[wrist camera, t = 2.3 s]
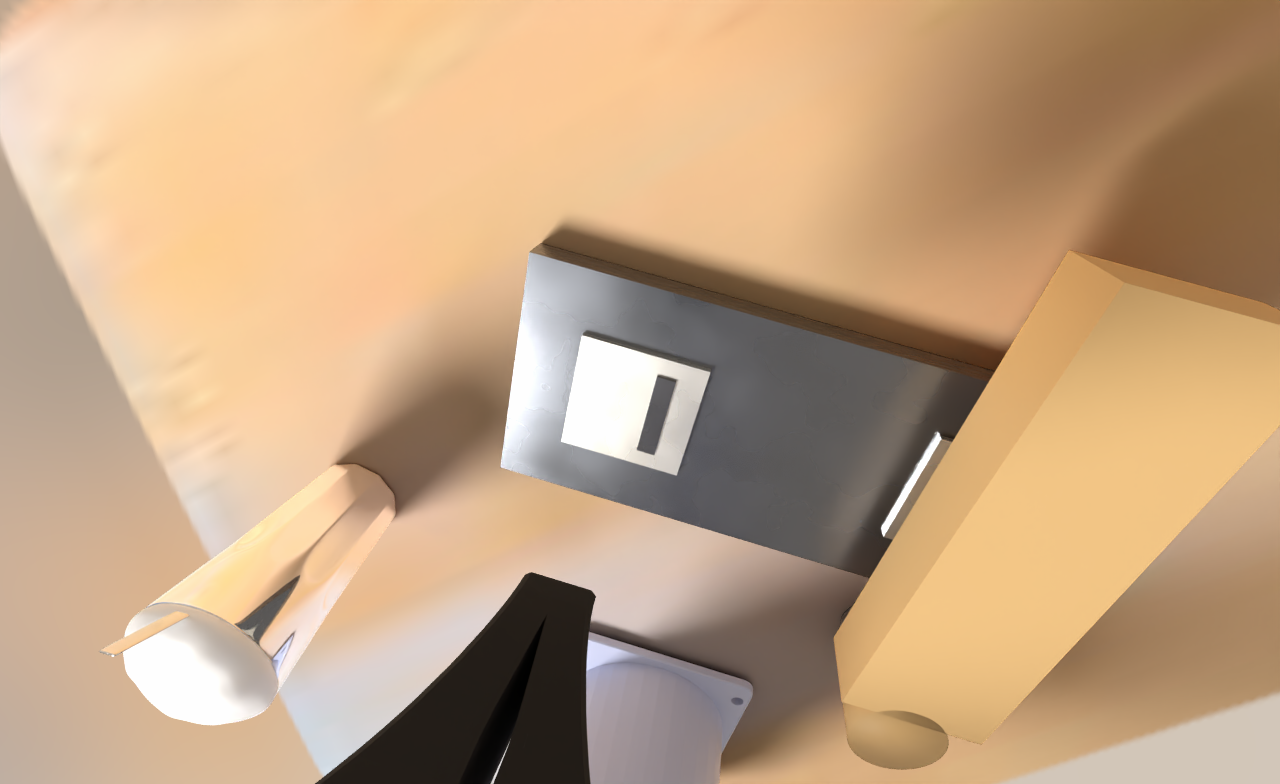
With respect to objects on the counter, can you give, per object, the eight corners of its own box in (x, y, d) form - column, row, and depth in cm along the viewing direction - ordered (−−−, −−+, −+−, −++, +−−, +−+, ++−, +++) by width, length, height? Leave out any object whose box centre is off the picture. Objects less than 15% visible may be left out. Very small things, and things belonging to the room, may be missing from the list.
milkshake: (408, 445, 23) (192, 677, 14) (415, 548, 25) (236, 795, 17) (298, 420, 23) (23, 630, 15) (315, 523, 26) (91, 753, 17)
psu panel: (1046, 611, 21) (1061, 641, 20) (510, 451, 22) (496, 472, 21) (1201, 429, 17) (1232, 455, 16) (540, 243, 18) (525, 254, 17)
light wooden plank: (925, 717, 22) (942, 786, 20) (807, 680, 22) (812, 745, 20) (1263, 302, 13) (1354, 345, 11) (1069, 249, 14) (1125, 282, 12)
